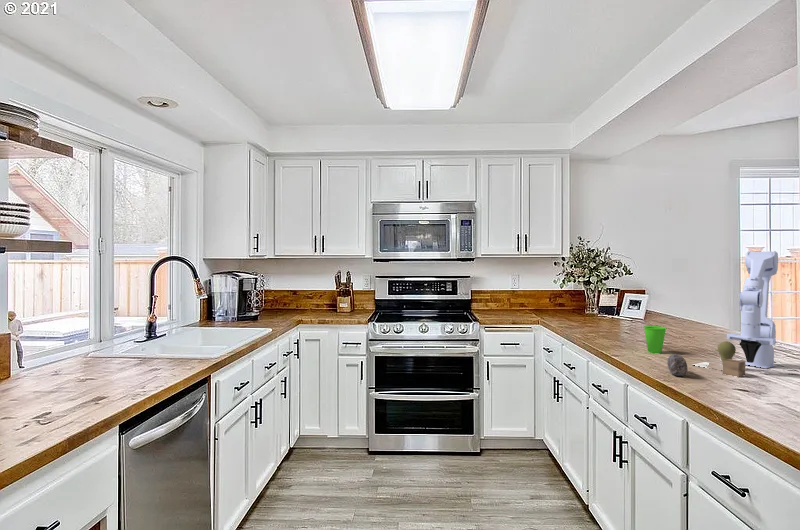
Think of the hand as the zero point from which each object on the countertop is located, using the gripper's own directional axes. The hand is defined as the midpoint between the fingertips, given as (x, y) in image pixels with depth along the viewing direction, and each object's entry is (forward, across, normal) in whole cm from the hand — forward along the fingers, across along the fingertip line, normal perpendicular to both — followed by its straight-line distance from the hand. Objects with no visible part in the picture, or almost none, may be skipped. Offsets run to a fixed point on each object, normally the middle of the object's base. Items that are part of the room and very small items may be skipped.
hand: (750, 362), depth 173 cm
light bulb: (+4, -8, 0) cm, 9 cm away
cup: (+4, -40, +8) cm, 41 cm away
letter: (+4, -11, 0) cm, 11 cm away
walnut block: (+4, -2, -8) cm, 9 cm away
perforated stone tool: (+4, -14, -23) cm, 27 cm away
